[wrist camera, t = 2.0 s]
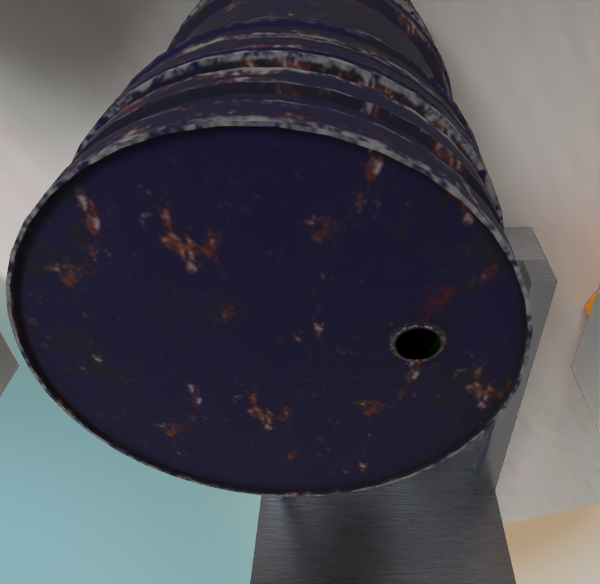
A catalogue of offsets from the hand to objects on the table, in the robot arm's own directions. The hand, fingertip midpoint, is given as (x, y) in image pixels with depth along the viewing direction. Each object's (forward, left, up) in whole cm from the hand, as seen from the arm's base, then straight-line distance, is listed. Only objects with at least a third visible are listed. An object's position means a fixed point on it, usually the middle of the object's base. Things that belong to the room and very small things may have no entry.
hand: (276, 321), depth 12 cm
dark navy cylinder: (0, 0, -14) cm, 14 cm away
